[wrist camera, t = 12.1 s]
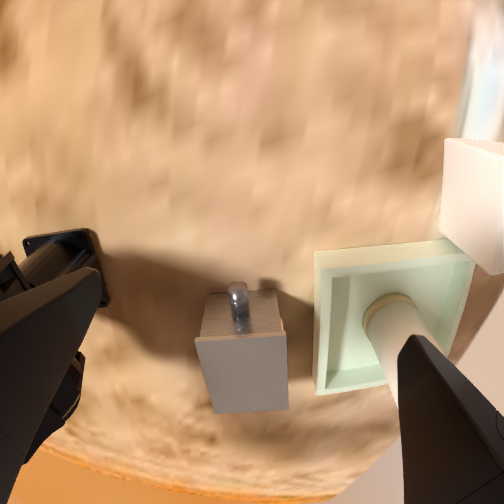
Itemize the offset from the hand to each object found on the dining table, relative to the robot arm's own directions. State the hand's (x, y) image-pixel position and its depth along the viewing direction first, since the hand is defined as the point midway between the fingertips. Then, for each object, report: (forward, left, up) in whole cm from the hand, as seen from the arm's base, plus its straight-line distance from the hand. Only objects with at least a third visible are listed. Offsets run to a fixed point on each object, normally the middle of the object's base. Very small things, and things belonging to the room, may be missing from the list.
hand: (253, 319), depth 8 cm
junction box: (-1, -11, -13) cm, 17 cm away
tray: (+10, -11, -13) cm, 20 cm away
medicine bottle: (+17, 0, -13) cm, 22 cm away
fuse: (+10, -11, -13) cm, 19 cm away
